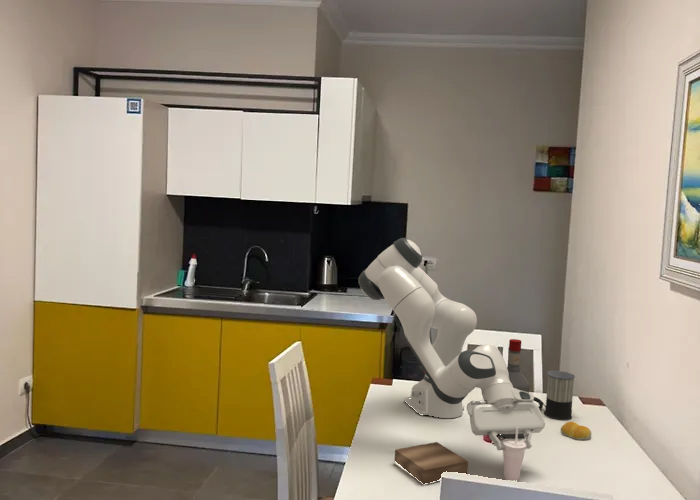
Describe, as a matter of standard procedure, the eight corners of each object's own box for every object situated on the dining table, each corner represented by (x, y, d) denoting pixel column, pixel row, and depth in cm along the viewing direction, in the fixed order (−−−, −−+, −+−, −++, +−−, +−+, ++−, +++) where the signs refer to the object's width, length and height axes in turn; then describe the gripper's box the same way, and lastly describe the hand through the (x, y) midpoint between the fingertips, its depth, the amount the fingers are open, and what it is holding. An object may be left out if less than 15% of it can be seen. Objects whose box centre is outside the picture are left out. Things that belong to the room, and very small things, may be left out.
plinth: (394, 463, 171) (395, 449, 171) (436, 455, 178) (436, 442, 177) (423, 485, 159) (424, 469, 158) (467, 475, 165) (468, 461, 165)
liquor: (530, 437, 195) (536, 343, 192) (506, 440, 191) (512, 344, 189) (512, 427, 203) (518, 336, 201) (488, 430, 200) (494, 337, 197)
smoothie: (520, 486, 160) (523, 433, 159) (495, 479, 164) (499, 427, 163) (527, 477, 166) (530, 426, 165) (503, 471, 169) (507, 420, 168)
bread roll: (583, 443, 192) (584, 430, 192) (557, 434, 199) (557, 422, 199) (596, 437, 198) (597, 425, 198) (570, 428, 205) (571, 417, 204)
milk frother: (575, 421, 211) (579, 378, 210) (529, 419, 212) (531, 376, 211) (562, 407, 226) (565, 367, 224) (519, 405, 226) (521, 365, 225)
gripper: (468, 395, 168) (482, 445, 159) (538, 393, 172) (554, 442, 163) (461, 406, 172) (473, 455, 164) (529, 404, 177) (544, 451, 168)
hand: (514, 448), depth 164 cm, fingers closed on smoothie, 6 cm apart
